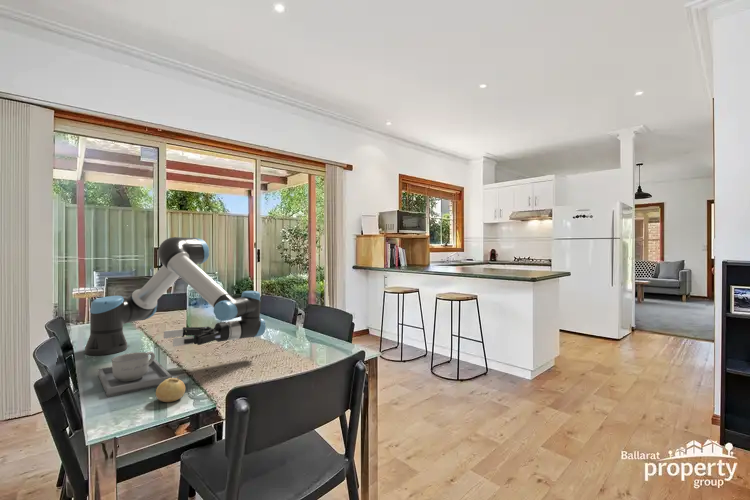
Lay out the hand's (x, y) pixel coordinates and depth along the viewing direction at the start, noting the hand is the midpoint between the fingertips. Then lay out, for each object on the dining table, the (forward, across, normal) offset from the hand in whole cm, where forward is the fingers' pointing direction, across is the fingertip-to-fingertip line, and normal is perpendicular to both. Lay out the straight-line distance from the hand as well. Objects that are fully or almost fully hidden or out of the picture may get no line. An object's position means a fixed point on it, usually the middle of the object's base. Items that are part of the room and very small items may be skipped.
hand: (168, 338), depth 136 cm
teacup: (+10, 0, -12) cm, 16 cm away
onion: (+5, -26, -13) cm, 29 cm away
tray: (+10, 0, -13) cm, 17 cm away
